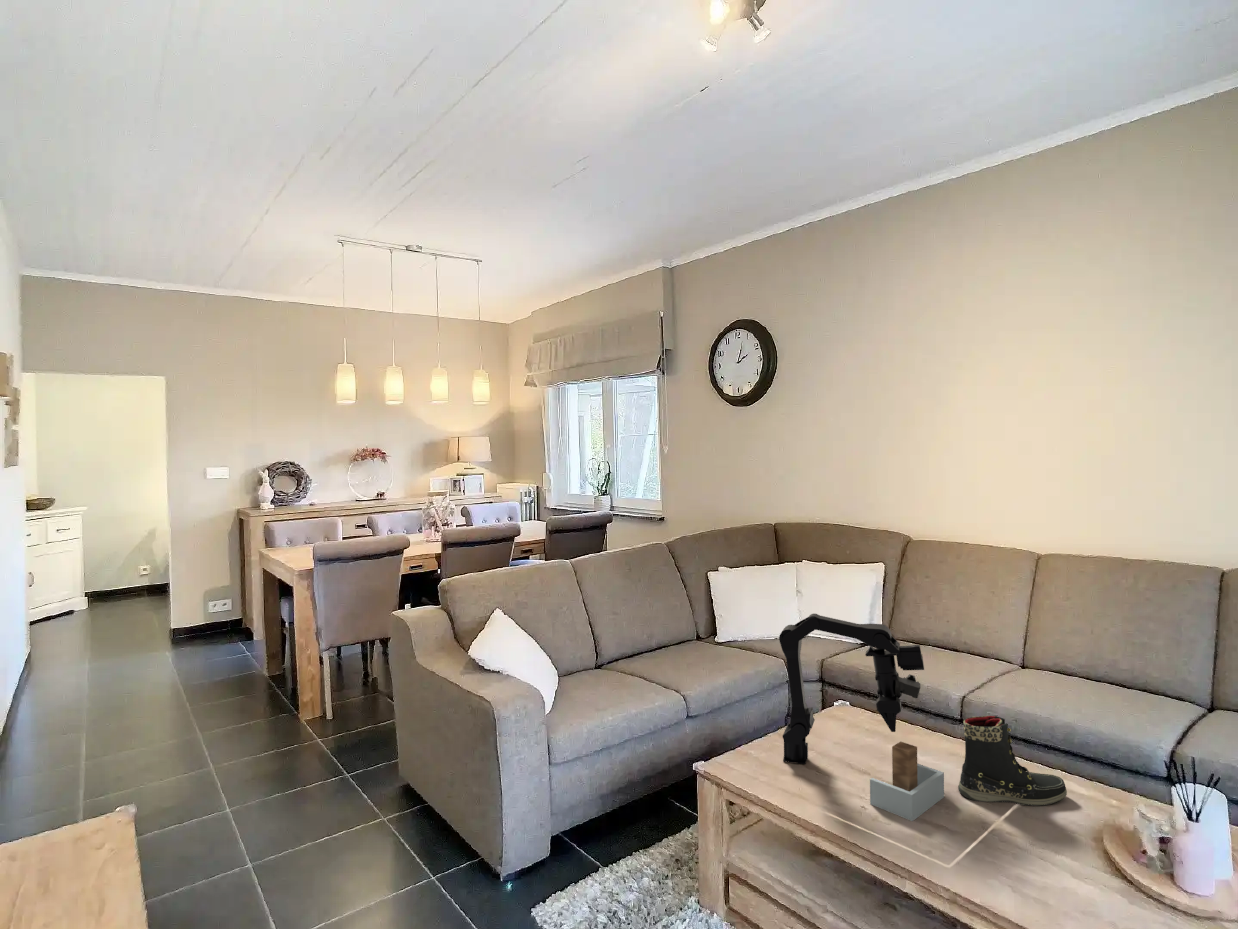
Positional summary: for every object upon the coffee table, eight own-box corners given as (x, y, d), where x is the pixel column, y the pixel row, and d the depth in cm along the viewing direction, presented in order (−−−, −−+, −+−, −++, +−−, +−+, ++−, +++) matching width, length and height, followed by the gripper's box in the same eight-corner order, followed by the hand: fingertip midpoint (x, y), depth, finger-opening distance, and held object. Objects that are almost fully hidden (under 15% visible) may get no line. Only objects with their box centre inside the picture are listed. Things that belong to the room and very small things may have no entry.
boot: (1075, 802, 179) (1075, 724, 178) (986, 816, 173) (985, 735, 173) (1036, 780, 191) (1036, 706, 190) (952, 792, 185) (951, 716, 185)
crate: (870, 806, 179) (869, 779, 179) (903, 783, 190) (902, 758, 190) (912, 823, 170) (911, 795, 170) (944, 798, 182) (943, 772, 182)
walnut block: (892, 799, 181) (892, 746, 181) (901, 793, 184) (900, 741, 184) (909, 806, 178) (908, 752, 177) (917, 799, 180) (917, 746, 180)
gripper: (916, 680, 184) (925, 739, 184) (916, 660, 201) (924, 713, 201) (872, 681, 188) (880, 738, 188) (875, 661, 206) (883, 713, 205)
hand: (893, 725), depth 195 cm, fingers open, 9 cm apart
